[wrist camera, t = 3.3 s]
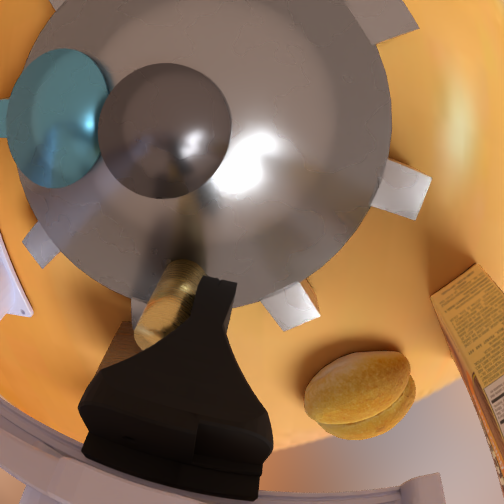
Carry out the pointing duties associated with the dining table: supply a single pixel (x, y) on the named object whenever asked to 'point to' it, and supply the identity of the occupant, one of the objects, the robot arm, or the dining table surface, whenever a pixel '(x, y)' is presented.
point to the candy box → (478, 348)
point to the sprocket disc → (207, 146)
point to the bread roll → (361, 394)
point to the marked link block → (120, 346)
